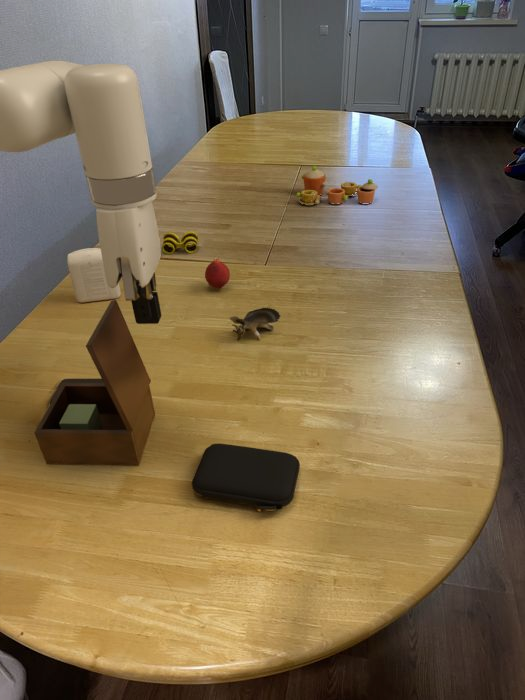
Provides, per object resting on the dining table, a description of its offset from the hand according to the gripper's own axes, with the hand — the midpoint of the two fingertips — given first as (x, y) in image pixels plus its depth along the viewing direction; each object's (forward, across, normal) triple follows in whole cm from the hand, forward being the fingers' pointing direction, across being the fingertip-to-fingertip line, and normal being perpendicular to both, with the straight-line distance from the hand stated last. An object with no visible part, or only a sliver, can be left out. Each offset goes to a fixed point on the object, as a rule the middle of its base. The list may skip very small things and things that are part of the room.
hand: (149, 320), depth 70 cm
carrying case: (+23, +9, +13) cm, 28 cm away
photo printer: (+22, -46, -26) cm, 58 cm away
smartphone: (+22, -11, -16) cm, 30 cm away
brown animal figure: (+23, -30, +12) cm, 40 cm away
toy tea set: (+23, -111, +34) cm, 118 cm away
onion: (+23, -50, +2) cm, 55 cm away
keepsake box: (+23, 0, -11) cm, 25 cm away
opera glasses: (+23, -72, -11) cm, 76 cm away
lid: (+8, 0, -6) cm, 10 cm away
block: (+22, 0, -14) cm, 26 cm away
